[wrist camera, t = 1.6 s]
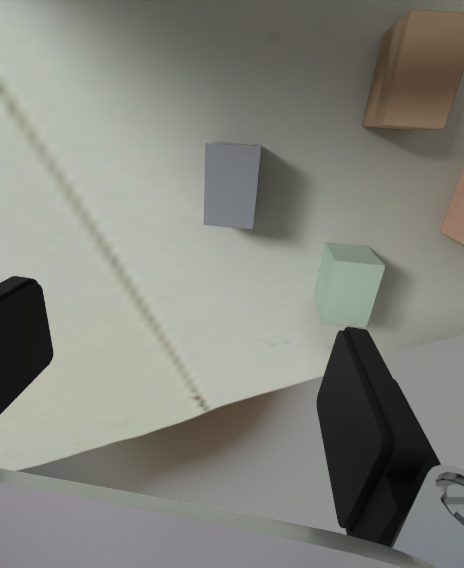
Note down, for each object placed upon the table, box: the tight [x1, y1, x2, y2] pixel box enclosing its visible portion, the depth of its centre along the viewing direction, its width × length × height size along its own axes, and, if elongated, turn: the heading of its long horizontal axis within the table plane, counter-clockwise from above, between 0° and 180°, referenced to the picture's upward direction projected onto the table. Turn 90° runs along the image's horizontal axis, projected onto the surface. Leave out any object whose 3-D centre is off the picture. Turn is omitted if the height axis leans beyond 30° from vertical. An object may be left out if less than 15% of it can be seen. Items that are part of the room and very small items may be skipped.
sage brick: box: [314, 242, 385, 327], centre depth 29 cm, size 6×4×5 cm, turn 176°
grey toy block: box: [204, 142, 261, 229], centre depth 26 cm, size 6×4×5 cm, turn 176°
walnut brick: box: [362, 10, 464, 130], centre depth 22 cm, size 6×4×5 cm, turn 176°
